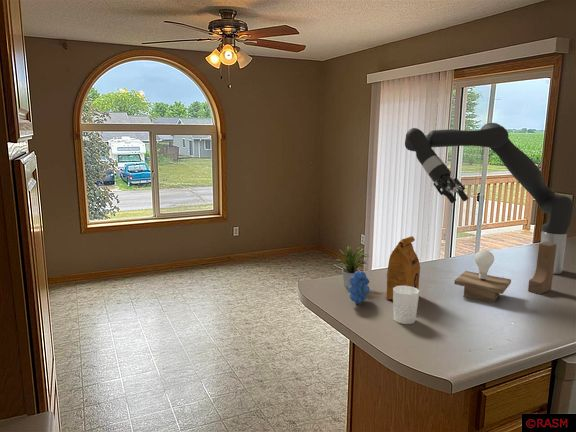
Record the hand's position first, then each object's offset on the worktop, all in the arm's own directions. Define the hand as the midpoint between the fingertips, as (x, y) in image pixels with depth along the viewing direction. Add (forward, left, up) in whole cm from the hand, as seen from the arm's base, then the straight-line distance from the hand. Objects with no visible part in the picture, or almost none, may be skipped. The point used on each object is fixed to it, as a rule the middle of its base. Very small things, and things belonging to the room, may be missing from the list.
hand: (460, 200), depth 167 cm
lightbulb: (+10, +13, -27) cm, 31 cm away
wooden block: (-10, +29, -33) cm, 45 cm away
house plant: (+32, -29, -33) cm, 54 cm away
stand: (+10, +13, -33) cm, 36 cm away
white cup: (+48, -1, -33) cm, 58 cm away
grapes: (+45, -18, -33) cm, 58 cm away
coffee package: (+30, -9, -33) cm, 45 cm away
